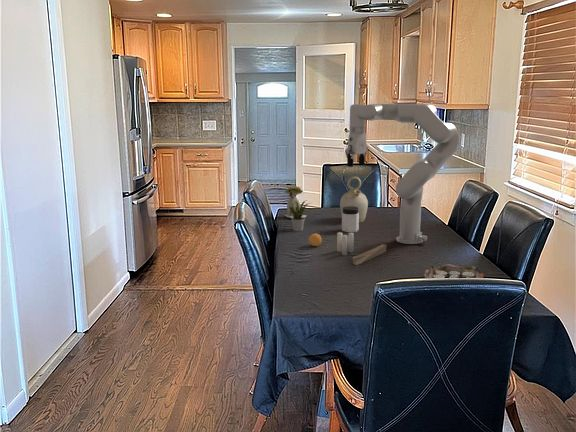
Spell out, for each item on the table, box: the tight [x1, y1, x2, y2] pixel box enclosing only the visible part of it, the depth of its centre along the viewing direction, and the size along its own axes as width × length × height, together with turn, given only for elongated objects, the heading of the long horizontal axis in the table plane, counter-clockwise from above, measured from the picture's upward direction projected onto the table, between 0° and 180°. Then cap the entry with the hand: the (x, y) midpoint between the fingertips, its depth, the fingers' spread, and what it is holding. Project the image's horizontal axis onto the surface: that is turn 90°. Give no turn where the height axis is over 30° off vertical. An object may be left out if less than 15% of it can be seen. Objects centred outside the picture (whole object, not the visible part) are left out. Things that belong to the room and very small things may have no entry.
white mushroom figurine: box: [283, 185, 307, 219], centre depth 304 cm, size 12×13×18 cm
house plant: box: [286, 200, 311, 232], centre depth 277 cm, size 14×14×16 cm
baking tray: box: [423, 263, 485, 279], centre depth 197 cm, size 30×22×5 cm
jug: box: [339, 175, 369, 223], centre depth 295 cm, size 15×16×25 cm
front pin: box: [336, 232, 344, 253], centre depth 239 cm, size 2×2×8 cm
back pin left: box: [341, 234, 348, 256], centre depth 234 cm, size 2×2×8 cm
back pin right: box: [347, 232, 355, 253], centre depth 238 cm, size 2×2×8 cm
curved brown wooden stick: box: [352, 244, 387, 266], centre depth 229 cm, size 2×24×3 cm, turn 140°
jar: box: [341, 206, 360, 233], centre depth 274 cm, size 9×8×12 cm
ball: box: [308, 233, 323, 247], centre depth 248 cm, size 6×6×6 cm
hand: (355, 165), depth 259 cm, fingers open, 9 cm apart
